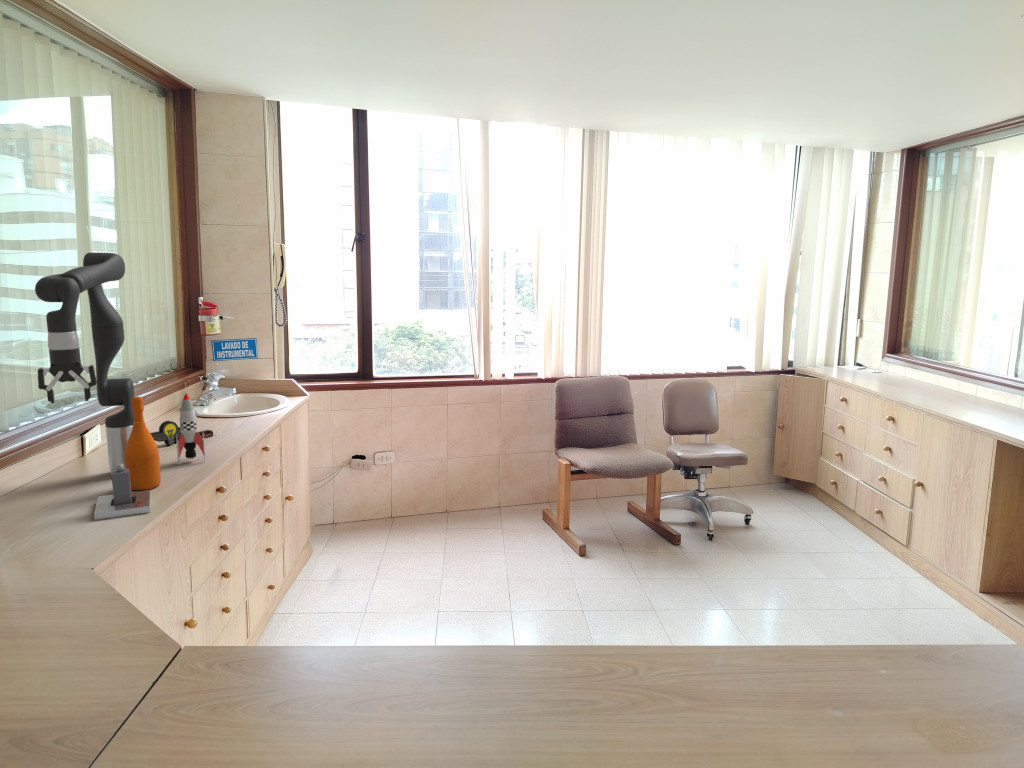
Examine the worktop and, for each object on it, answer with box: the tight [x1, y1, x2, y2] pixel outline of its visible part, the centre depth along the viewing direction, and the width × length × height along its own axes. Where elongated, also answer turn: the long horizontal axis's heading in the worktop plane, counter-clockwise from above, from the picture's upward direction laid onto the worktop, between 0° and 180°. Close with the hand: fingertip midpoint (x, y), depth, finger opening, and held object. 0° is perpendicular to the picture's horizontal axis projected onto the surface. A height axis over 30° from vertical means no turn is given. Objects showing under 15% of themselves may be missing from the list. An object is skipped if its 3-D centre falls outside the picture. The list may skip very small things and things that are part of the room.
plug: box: [110, 464, 132, 506], centre depth 204 cm, size 4×4×13 cm
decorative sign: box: [150, 420, 214, 446], centre depth 277 cm, size 27×2×10 cm, turn 146°
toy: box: [176, 381, 207, 465], centre depth 249 cm, size 9×8×30 cm
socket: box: [93, 489, 152, 521], centre depth 205 cm, size 16×14×3 cm
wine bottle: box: [125, 396, 162, 491], centre depth 221 cm, size 10×10×30 cm
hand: (69, 401), depth 202 cm, fingers open, 8 cm apart
